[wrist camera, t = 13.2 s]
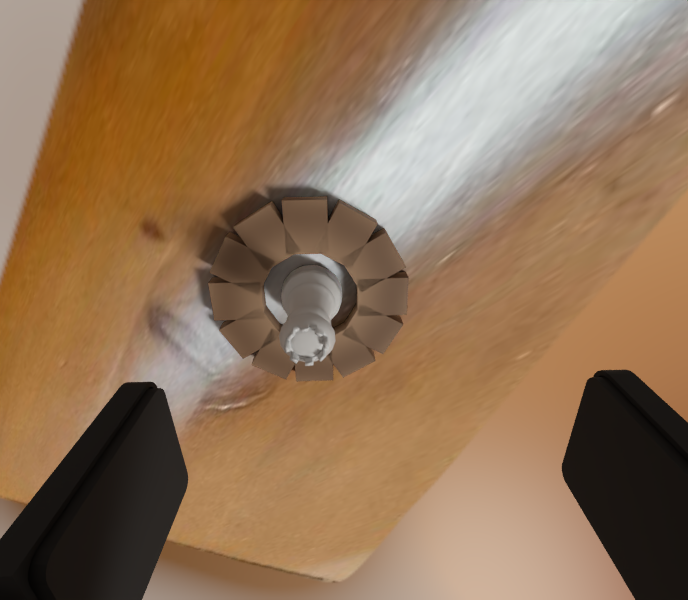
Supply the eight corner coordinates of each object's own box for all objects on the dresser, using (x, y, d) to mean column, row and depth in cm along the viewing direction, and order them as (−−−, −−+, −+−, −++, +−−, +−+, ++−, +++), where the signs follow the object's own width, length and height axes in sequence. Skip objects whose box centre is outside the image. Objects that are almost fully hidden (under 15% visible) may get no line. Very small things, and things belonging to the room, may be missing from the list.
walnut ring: (409, 194, 27) (412, 197, 26) (400, 369, 33) (403, 377, 31) (200, 199, 26) (194, 202, 25) (228, 374, 32) (225, 383, 31)
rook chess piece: (280, 315, 30) (264, 377, 23) (283, 259, 28) (267, 307, 21) (338, 320, 31) (341, 383, 23) (345, 265, 29) (351, 315, 21)
